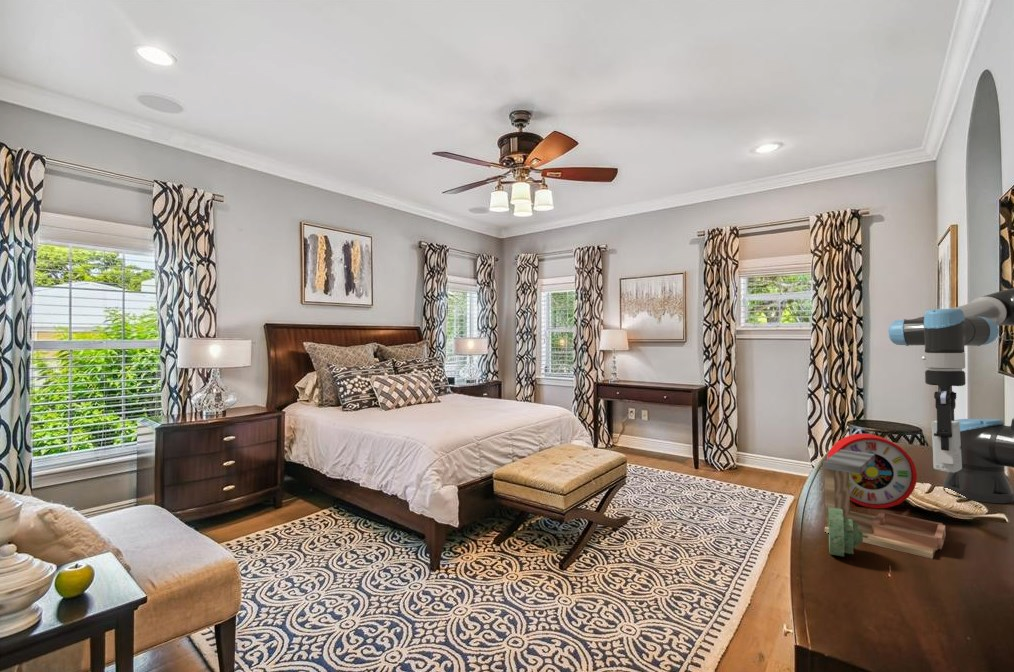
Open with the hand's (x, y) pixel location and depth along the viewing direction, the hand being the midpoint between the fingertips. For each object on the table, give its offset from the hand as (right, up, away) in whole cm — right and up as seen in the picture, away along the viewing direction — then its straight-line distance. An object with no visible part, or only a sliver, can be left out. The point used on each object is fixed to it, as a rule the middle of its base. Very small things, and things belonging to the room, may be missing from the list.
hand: (946, 460), depth 120 cm
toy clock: (-7, -17, +16) cm, 25 cm away
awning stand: (-19, -17, -4) cm, 26 cm away
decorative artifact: (-36, -17, -15) cm, 43 cm away
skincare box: (0, -2, 0) cm, 2 cm away
